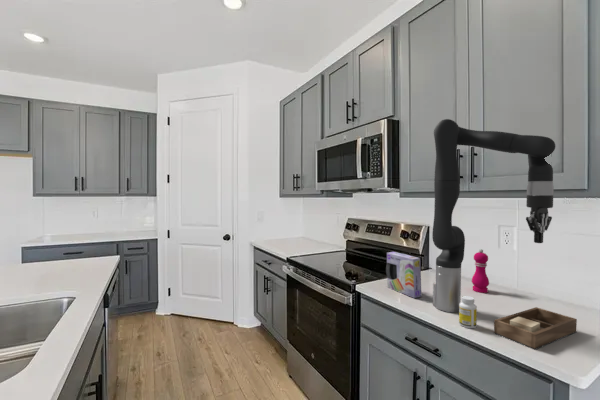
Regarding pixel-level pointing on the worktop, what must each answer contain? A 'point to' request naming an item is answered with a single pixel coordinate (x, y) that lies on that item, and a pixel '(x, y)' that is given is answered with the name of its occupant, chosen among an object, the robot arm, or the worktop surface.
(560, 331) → the divided wooden tray
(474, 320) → the supplement bottle
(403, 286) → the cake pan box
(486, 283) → the pepper mill
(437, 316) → the worktop surface
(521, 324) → the block
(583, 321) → the worktop surface
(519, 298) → the worktop surface
